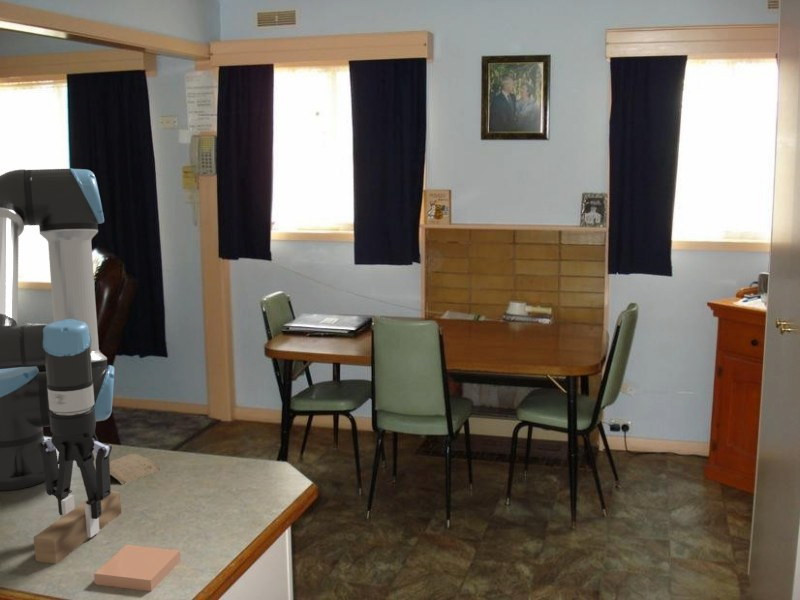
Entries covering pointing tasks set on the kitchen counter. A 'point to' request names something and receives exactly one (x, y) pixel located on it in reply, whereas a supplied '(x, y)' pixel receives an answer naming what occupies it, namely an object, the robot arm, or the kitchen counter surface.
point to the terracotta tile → (137, 567)
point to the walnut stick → (72, 530)
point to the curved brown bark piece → (131, 468)
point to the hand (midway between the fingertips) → (81, 532)
